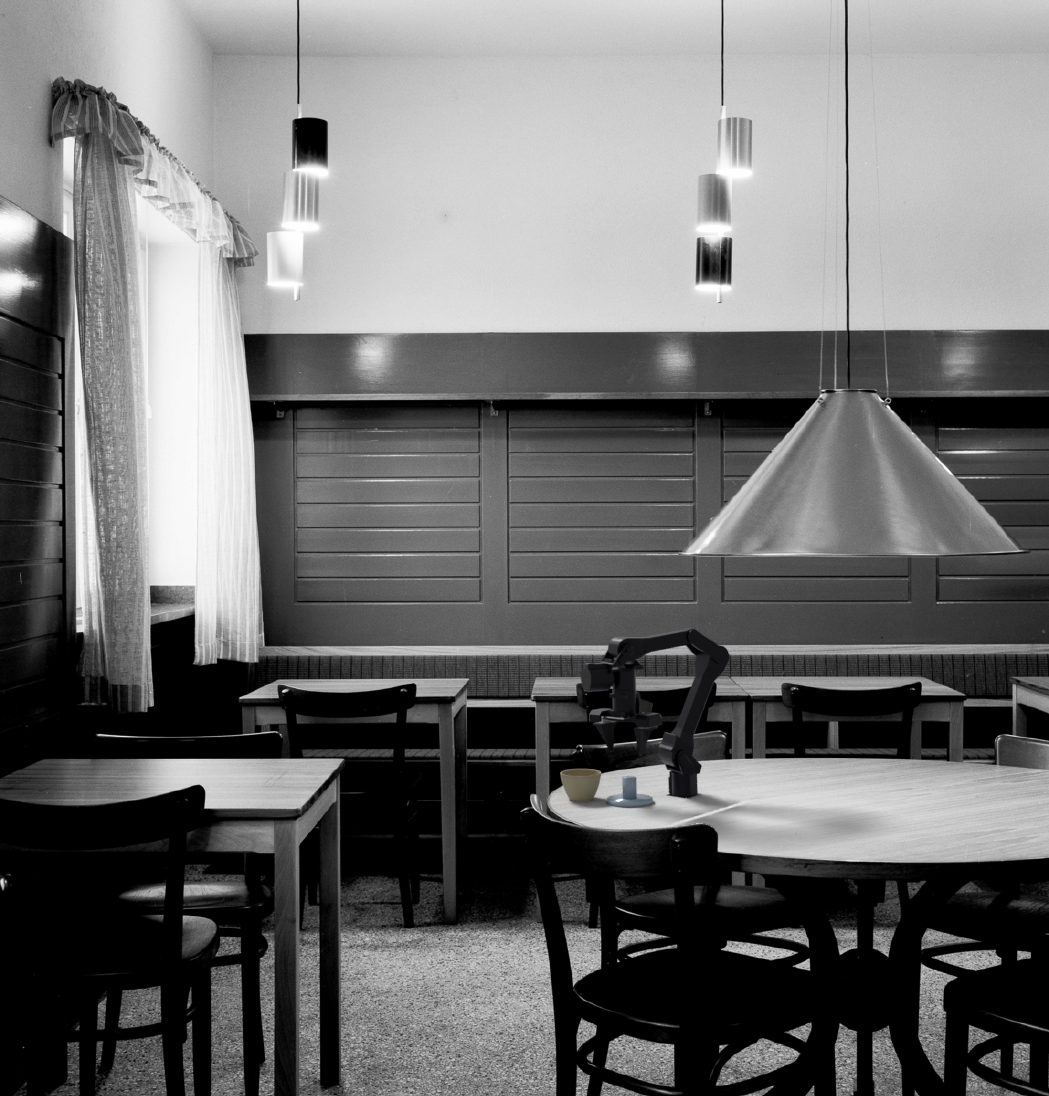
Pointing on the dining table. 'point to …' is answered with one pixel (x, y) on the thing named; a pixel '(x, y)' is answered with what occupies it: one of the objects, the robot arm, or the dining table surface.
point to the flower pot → (580, 783)
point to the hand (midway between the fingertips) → (626, 753)
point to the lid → (629, 795)
